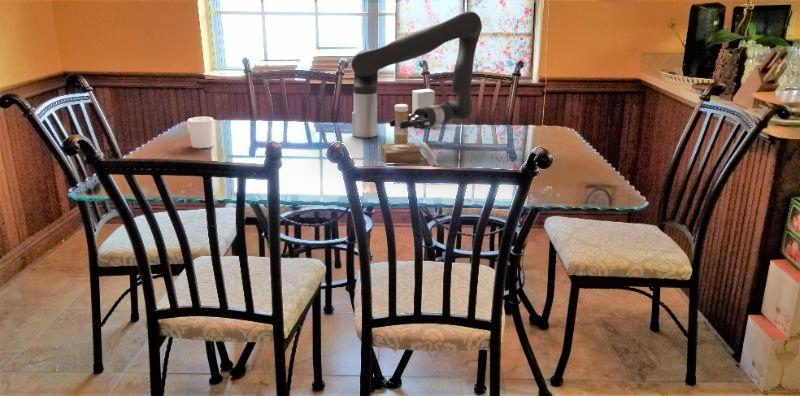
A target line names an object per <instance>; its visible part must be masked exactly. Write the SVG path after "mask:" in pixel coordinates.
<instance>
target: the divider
mask: <svg viewBox="0 0 800 396" xmlns="http://www.w3.org/2000/svg"><path fill="white" fill-rule="evenodd" d="M419 150H420V151H421V157H422V158H423V160H424V161H425V162H426V161H427V162H428V163H427V162H426V163H427V164H428V166H429V165H430V166H429V167H439V166H440V164H439V163H438V162H437V155H436V154H435V153H434V151H433V150H432V149H431V148H430V147H429V146H428V144H427V143H426V142H425V141H420V149H419Z"/></svg>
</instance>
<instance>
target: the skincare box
mask: <svg viewBox="0 0 800 396" xmlns="http://www.w3.org/2000/svg"><path fill="white" fill-rule="evenodd" d="M411 92H412V93H411V95H412V96H411V100H412V101H411V102H412V103H411V105H412V106H411V110H412V111H411V114H414V112H415V110H416V109H418V108H422V107H427V106H432V105H435V96H436V95H435V94H436V91H435V90H433V89H431V88H424V89H416V90H415V89H414V90H412V91H411Z"/></svg>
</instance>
